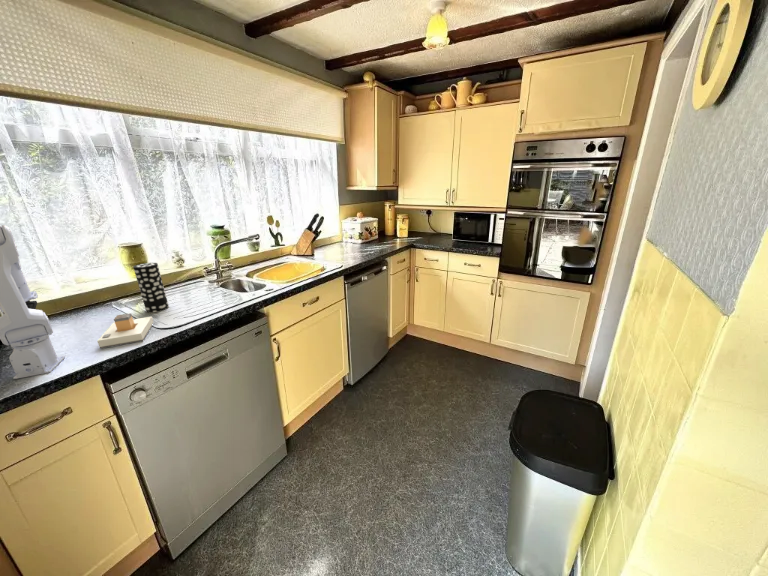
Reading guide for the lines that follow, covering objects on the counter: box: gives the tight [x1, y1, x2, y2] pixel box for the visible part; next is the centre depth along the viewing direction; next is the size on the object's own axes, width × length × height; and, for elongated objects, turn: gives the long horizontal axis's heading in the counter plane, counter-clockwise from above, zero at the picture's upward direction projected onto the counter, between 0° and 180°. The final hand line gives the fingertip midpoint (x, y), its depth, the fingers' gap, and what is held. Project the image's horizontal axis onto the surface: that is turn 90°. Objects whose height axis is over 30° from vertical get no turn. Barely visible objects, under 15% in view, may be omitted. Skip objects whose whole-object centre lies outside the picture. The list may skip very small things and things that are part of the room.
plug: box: [113, 312, 135, 332], centre depth 111 cm, size 4×4×7 cm
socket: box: [97, 316, 154, 350], centre depth 112 cm, size 16×12×3 cm
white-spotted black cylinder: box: [133, 262, 170, 313], centre depth 133 cm, size 8×8×20 cm
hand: (30, 324), depth 100 cm, fingers closed
